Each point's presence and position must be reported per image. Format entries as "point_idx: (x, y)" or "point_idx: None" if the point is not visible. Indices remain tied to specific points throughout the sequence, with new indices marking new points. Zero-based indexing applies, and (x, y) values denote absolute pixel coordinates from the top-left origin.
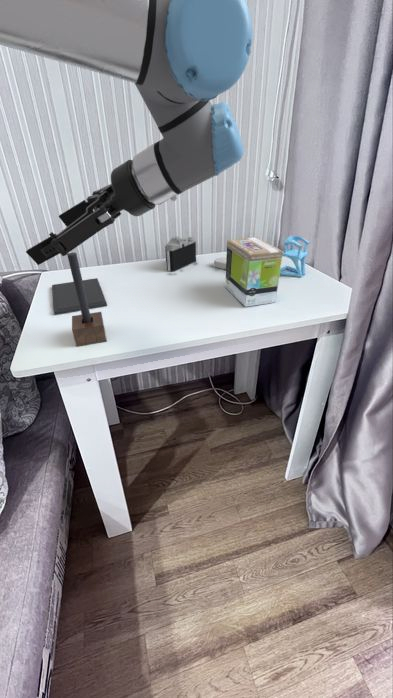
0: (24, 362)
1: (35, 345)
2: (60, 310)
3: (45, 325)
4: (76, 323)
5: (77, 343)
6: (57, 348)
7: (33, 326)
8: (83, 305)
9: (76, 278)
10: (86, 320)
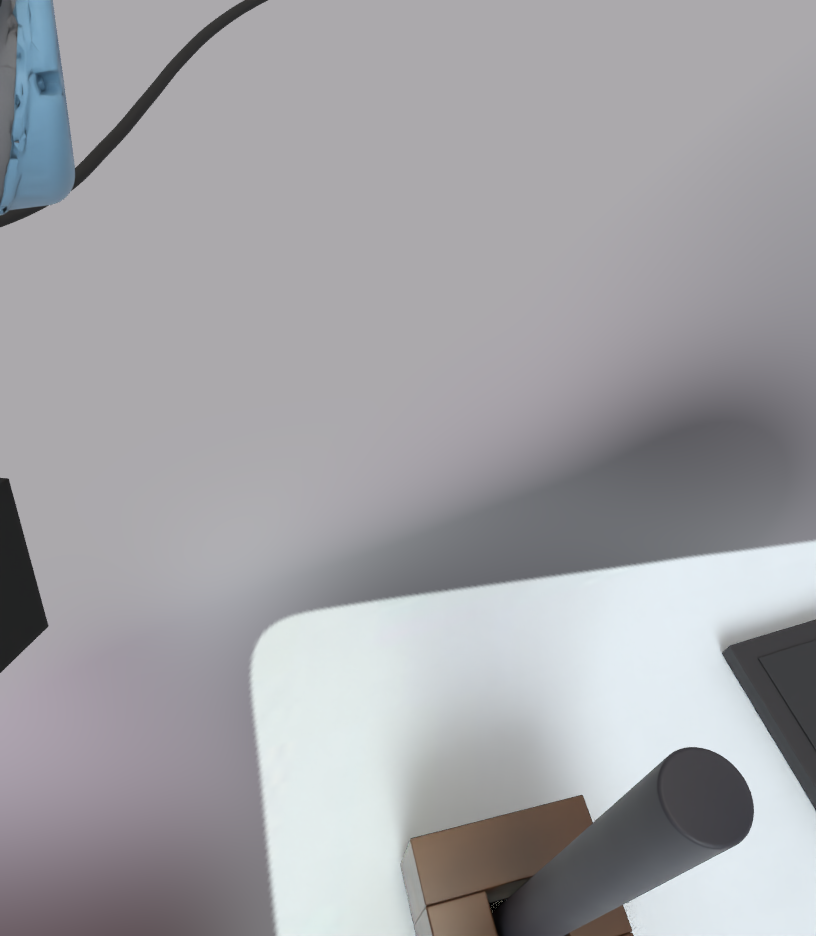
0: (293, 638)
1: (429, 644)
2: (754, 677)
3: (613, 637)
4: (486, 849)
5: (404, 870)
6: (393, 758)
7: (599, 586)
8: (530, 906)
9: (585, 856)
10: (505, 920)
